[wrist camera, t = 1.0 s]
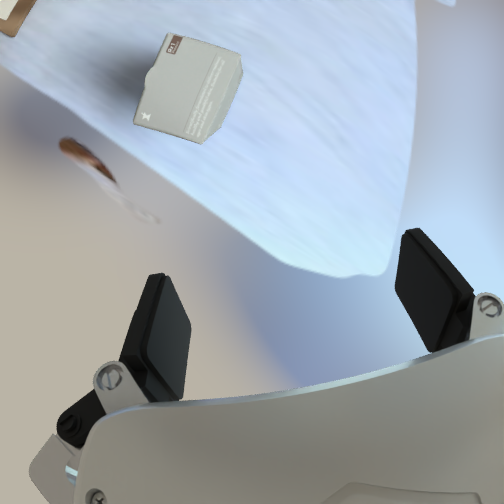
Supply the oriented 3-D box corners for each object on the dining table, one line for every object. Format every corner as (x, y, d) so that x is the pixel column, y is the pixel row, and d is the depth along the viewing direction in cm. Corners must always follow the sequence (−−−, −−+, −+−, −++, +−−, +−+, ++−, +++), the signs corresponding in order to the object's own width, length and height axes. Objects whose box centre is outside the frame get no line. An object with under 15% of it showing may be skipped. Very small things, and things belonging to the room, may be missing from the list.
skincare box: (220, 128, 35) (209, 155, 21) (170, 111, 33) (126, 128, 20) (246, 70, 31) (252, 56, 17) (193, 52, 29) (163, 30, 16)
